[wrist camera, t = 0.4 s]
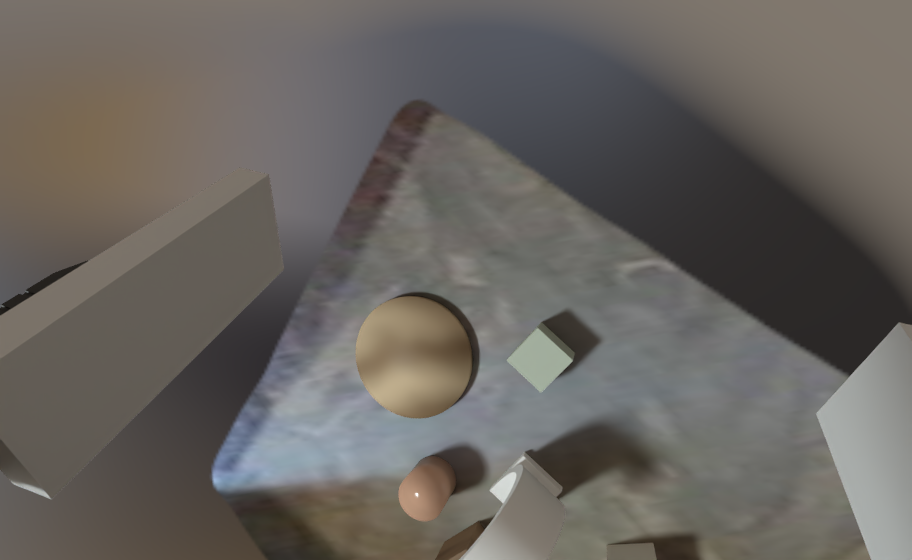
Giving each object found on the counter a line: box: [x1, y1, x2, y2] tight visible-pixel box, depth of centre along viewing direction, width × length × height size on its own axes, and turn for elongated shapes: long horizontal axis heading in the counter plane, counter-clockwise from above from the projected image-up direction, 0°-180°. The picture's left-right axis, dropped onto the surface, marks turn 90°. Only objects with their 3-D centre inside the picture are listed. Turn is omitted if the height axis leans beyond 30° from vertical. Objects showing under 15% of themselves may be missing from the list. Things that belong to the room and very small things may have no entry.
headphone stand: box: [459, 452, 565, 560], centre depth 39 cm, size 5×6×12 cm
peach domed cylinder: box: [399, 456, 456, 521], centre depth 46 cm, size 4×4×4 cm
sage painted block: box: [507, 322, 575, 393], centre depth 42 cm, size 4×4×3 cm
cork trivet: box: [356, 296, 473, 418], centre depth 47 cm, size 12×12×1 cm
